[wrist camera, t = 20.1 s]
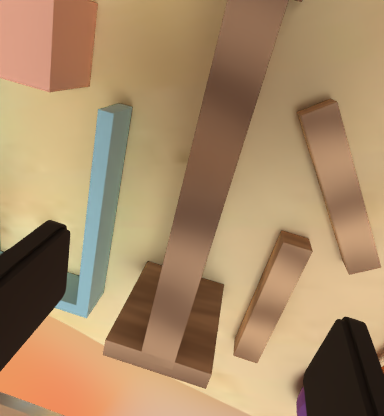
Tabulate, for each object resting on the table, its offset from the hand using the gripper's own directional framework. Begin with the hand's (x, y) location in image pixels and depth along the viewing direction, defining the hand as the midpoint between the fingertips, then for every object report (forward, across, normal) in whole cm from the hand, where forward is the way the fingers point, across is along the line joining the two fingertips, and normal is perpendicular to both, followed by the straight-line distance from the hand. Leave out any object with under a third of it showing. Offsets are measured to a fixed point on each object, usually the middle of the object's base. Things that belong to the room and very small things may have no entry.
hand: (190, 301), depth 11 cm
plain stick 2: (+19, -9, 0) cm, 21 cm away
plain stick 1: (+19, -7, +12) cm, 23 cm away
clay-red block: (+18, +16, -5) cm, 25 cm away
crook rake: (+18, +1, +1) cm, 18 cm away
